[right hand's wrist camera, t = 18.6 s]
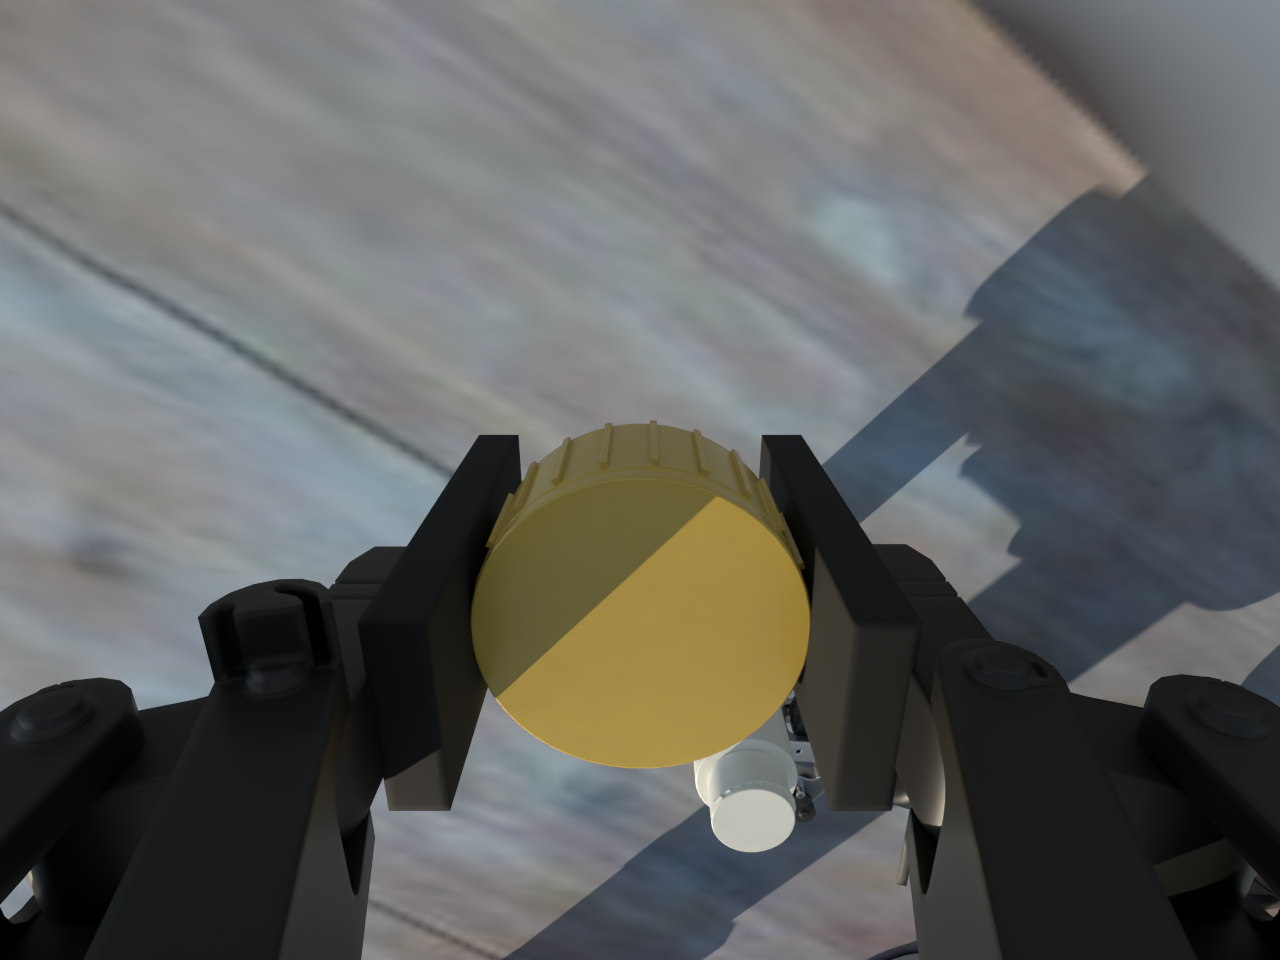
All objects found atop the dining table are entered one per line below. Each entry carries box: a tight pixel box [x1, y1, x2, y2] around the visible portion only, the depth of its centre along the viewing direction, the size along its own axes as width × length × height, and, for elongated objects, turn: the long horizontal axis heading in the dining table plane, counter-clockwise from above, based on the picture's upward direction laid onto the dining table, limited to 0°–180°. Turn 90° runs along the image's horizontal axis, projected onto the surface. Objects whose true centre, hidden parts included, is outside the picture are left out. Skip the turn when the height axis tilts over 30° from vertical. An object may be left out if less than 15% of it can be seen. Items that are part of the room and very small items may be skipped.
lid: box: [471, 420, 811, 768], centre depth 11 cm, size 5×5×2 cm
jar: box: [694, 707, 798, 852], centre depth 35 cm, size 4×4×16 cm
